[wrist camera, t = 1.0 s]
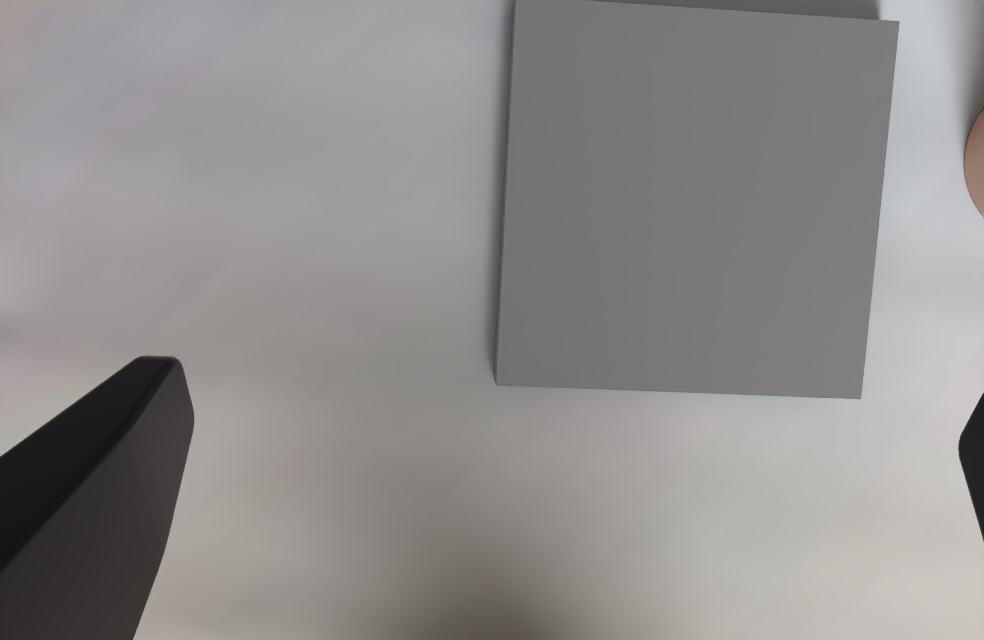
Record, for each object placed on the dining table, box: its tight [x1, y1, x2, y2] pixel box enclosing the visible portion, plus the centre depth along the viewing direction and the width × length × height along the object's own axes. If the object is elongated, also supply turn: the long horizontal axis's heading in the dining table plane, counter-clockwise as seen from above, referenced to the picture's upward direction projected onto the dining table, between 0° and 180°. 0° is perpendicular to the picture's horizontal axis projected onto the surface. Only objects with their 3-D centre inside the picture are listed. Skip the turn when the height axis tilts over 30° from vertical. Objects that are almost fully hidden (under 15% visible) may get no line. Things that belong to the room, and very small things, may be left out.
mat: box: [494, 0, 899, 399], centre depth 25 cm, size 11×11×1 cm
